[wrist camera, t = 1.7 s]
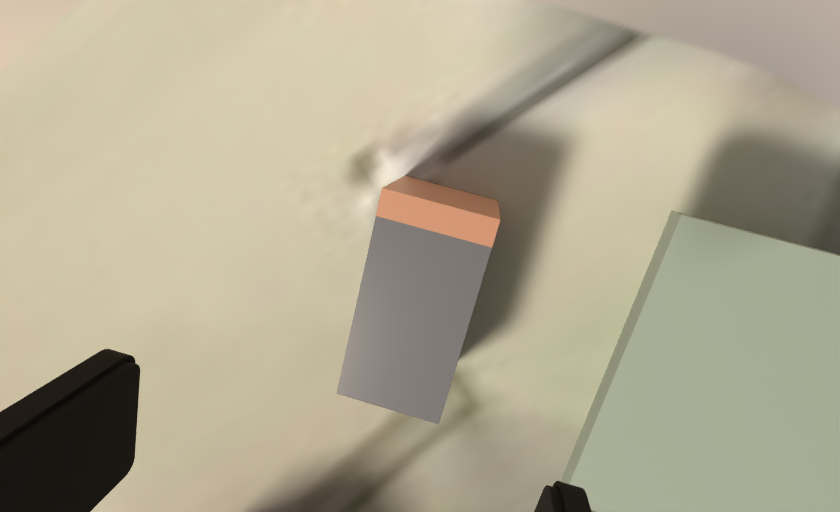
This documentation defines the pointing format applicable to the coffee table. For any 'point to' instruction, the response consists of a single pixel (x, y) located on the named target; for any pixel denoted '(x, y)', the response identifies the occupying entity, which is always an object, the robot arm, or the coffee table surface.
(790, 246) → the stand
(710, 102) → the coffee table surface
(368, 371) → the block
